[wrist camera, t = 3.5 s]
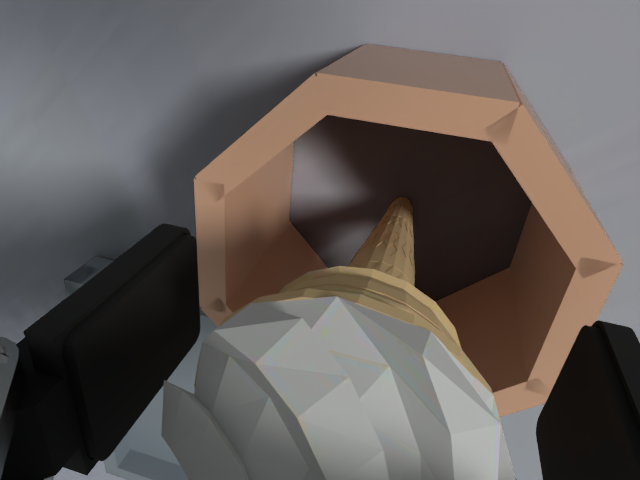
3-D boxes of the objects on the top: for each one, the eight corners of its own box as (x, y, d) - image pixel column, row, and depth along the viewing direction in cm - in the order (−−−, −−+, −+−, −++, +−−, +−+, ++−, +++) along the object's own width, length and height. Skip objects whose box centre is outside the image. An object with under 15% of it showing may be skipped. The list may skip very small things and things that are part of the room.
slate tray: (95, 255, 21) (63, 279, 20) (354, 319, 19) (343, 352, 17) (128, 442, 28) (106, 472, 26) (323, 506, 25) (313, 543, 24)
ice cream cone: (340, 274, 18) (46, 949, 5) (309, 132, 16) (-331, 732, 3) (493, 267, 16) (589, 1259, 4) (484, 105, 14) (661, 1307, 1)
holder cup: (276, 31, 15) (188, 53, 10) (608, 75, 13) (690, 127, 8) (266, 284, 19) (203, 378, 15) (507, 341, 18) (522, 470, 13)
